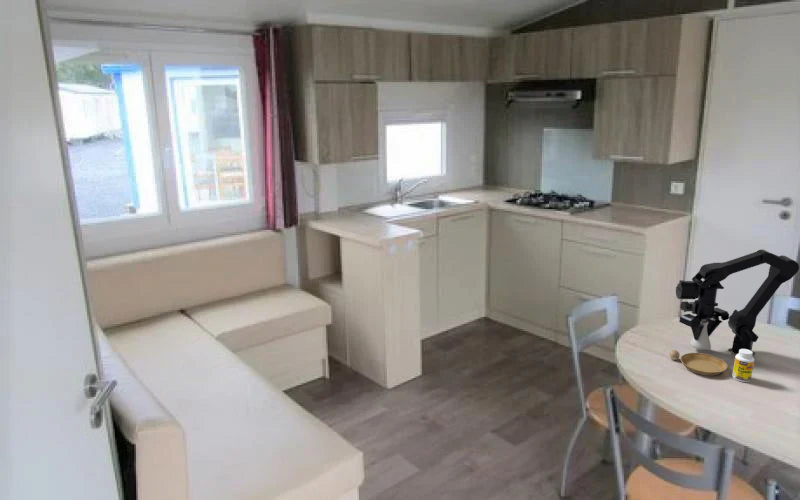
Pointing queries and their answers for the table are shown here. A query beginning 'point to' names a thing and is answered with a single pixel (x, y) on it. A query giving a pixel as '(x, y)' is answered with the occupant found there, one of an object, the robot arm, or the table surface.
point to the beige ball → (674, 355)
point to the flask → (702, 338)
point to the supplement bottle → (743, 365)
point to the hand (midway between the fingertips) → (701, 338)
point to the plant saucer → (703, 363)
